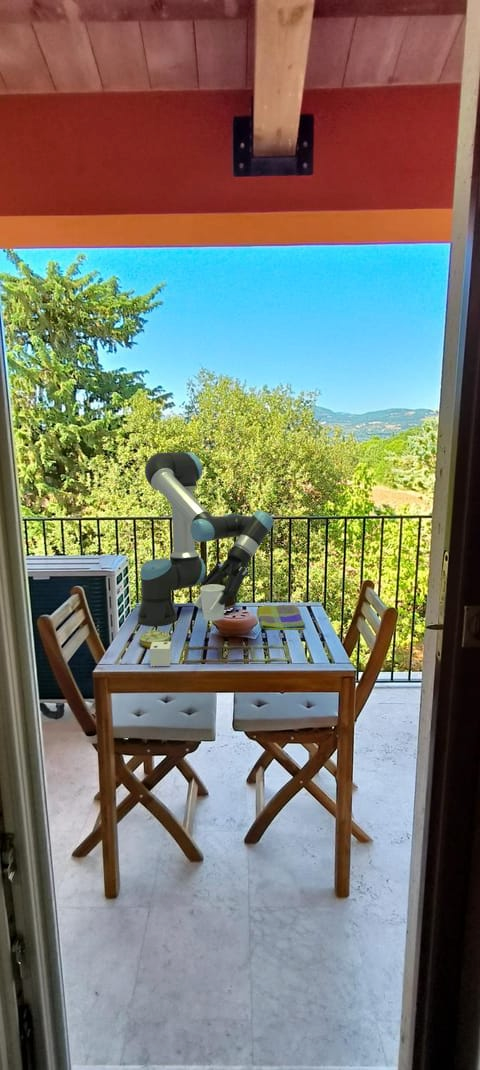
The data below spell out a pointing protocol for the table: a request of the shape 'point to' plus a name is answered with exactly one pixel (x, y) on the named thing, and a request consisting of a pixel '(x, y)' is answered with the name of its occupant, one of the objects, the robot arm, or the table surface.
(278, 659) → the flat rectangular frame
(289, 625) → the dish towel
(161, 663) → the white die
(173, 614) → the robot arm
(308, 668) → the table surface
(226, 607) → the flowerpot
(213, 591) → the white cup
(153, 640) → the decorated donut
